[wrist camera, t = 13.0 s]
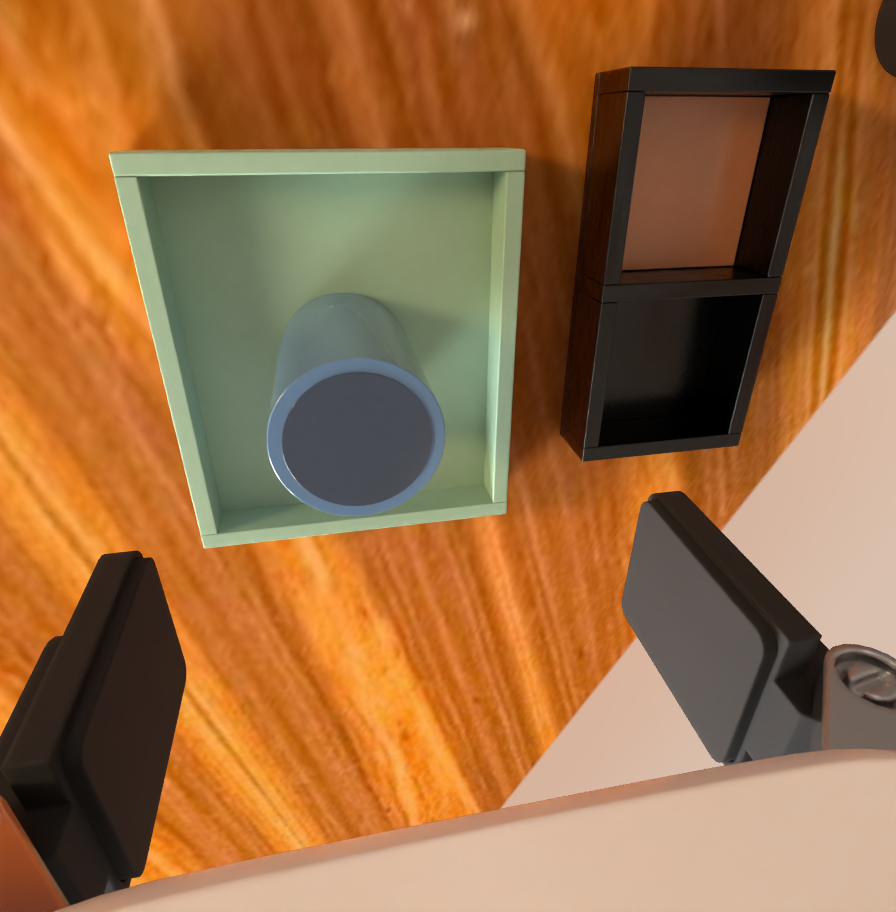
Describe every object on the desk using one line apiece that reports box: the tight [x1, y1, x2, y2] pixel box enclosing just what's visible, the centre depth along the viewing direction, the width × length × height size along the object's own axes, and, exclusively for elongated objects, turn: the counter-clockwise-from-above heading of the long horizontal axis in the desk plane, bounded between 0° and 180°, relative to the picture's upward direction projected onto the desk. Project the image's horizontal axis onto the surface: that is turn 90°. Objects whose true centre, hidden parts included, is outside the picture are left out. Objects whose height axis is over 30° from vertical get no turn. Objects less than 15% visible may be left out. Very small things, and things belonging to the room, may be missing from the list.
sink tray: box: [109, 147, 526, 548], centre depth 28 cm, size 18×16×3 cm
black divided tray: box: [560, 66, 836, 461], centre depth 29 cm, size 17×9×3 cm, turn 0°
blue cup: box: [266, 293, 445, 516], centre depth 25 cm, size 6×6×9 cm
